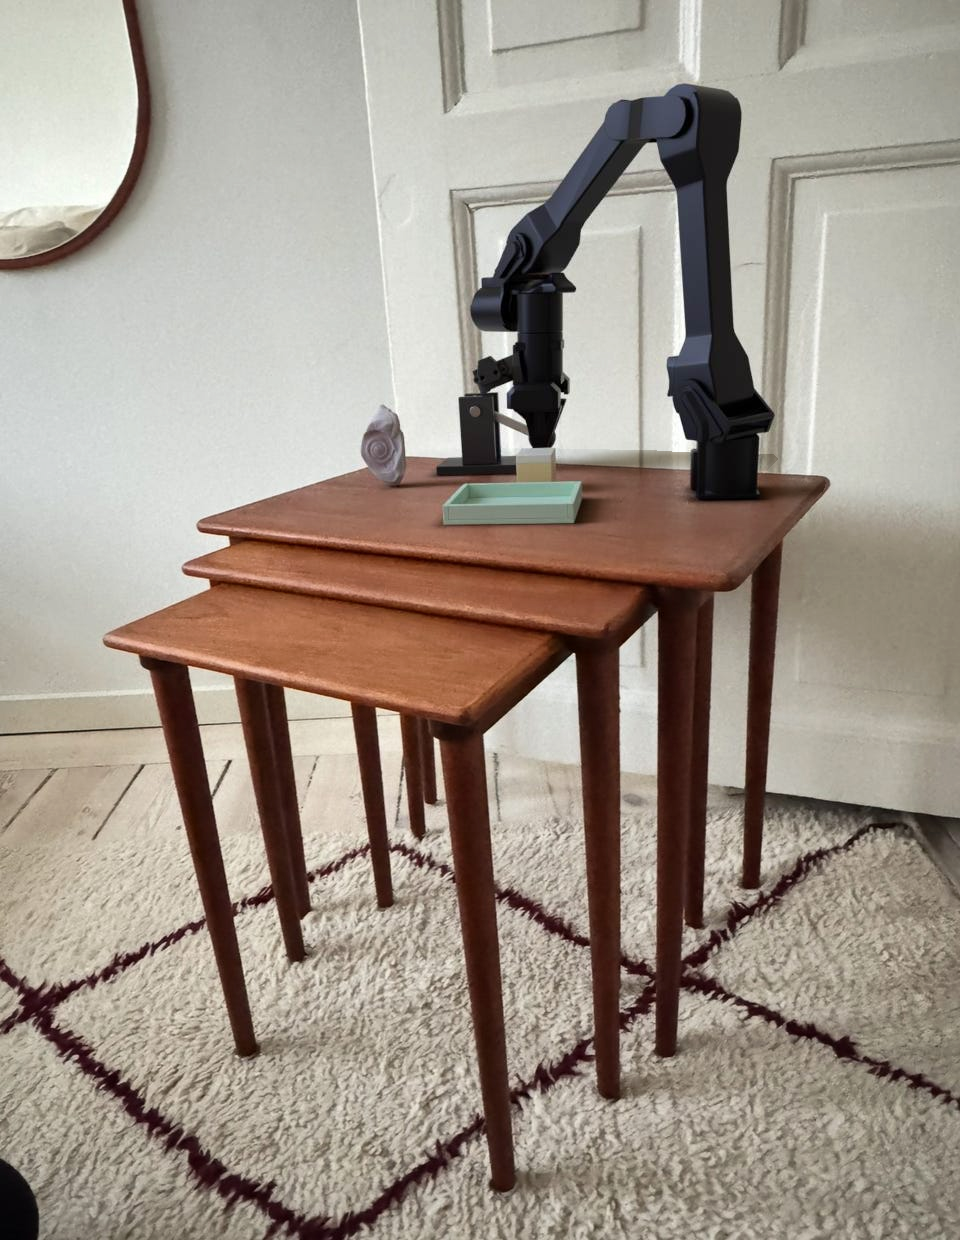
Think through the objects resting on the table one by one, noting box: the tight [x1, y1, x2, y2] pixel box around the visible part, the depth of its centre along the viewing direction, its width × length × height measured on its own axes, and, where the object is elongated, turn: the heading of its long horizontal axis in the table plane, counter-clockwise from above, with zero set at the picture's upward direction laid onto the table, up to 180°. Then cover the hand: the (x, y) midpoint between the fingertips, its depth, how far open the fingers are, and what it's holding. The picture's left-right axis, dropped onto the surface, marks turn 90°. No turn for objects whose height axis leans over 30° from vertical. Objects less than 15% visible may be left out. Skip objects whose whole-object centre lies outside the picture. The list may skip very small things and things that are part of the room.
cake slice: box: [515, 447, 557, 483], centre depth 103 cm, size 4×5×4 cm
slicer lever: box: [474, 395, 557, 448], centre depth 116 cm, size 12×4×4 cm, turn 79°
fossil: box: [360, 404, 407, 487], centre depth 110 cm, size 6×4×10 cm, turn 68°
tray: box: [442, 480, 583, 526], centre depth 94 cm, size 13×11×2 cm
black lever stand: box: [435, 391, 517, 477], centre depth 117 cm, size 11×7×10 cm, turn 80°
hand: (540, 457), depth 117 cm, fingers closed on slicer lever, 3 cm apart
